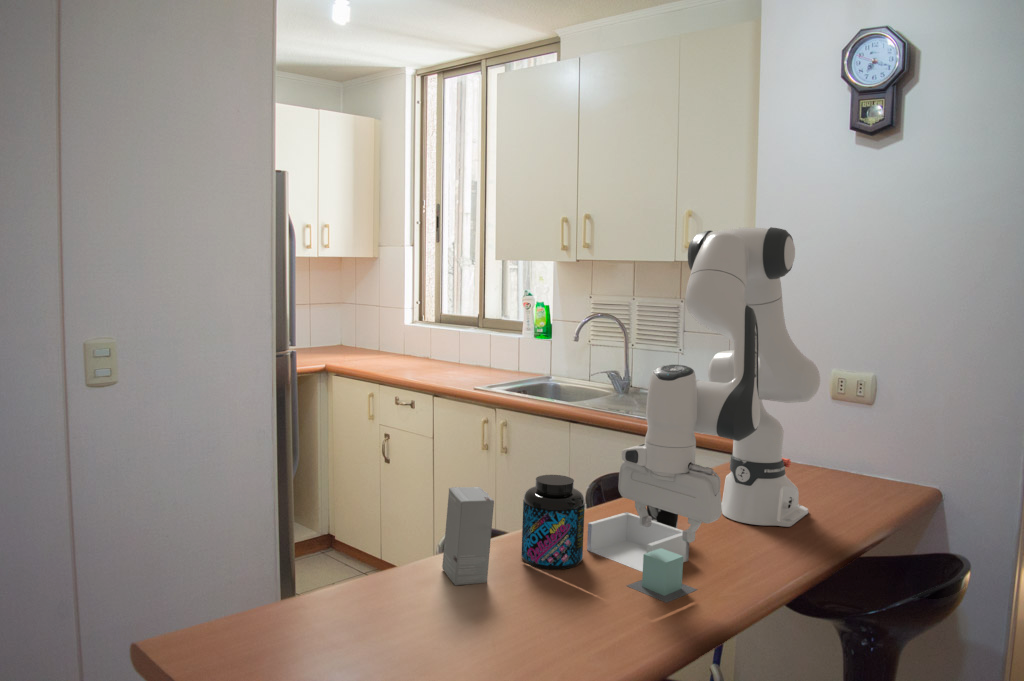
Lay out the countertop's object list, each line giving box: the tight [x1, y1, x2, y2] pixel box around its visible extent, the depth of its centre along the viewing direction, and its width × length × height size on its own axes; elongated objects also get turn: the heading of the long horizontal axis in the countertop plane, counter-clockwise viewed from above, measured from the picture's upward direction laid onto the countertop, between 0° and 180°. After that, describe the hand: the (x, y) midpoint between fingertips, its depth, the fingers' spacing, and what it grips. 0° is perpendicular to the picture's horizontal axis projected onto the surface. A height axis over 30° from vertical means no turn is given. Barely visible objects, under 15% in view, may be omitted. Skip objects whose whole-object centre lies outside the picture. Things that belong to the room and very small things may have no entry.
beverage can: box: [646, 505, 679, 529], centre depth 167 cm, size 7×7×12 cm
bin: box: [586, 511, 690, 573], centre depth 155 cm, size 12×16×6 cm
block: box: [641, 548, 684, 596], centre depth 140 cm, size 5×5×6 cm
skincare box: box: [441, 486, 495, 586], centre depth 142 cm, size 8×7×16 cm
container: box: [521, 474, 586, 571], centre depth 151 cm, size 12×12×16 cm
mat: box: [626, 579, 698, 604], centre depth 140 cm, size 9×9×1 cm
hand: (666, 533), depth 139 cm, fingers open, 8 cm apart
